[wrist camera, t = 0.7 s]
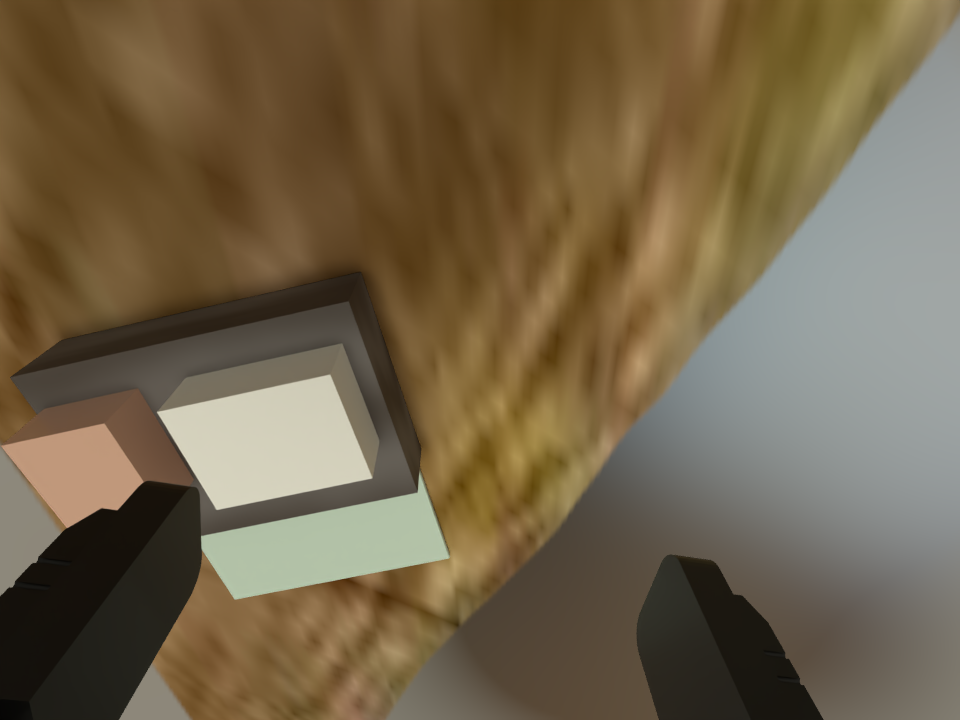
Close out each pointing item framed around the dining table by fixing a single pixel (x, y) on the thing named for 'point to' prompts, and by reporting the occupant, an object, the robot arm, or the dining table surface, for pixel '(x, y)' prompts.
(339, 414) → the cream tile
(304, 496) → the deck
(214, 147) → the dining table surface
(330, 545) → the mat
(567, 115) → the dining table surface
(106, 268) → the dining table surface
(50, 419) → the salmon pink block
